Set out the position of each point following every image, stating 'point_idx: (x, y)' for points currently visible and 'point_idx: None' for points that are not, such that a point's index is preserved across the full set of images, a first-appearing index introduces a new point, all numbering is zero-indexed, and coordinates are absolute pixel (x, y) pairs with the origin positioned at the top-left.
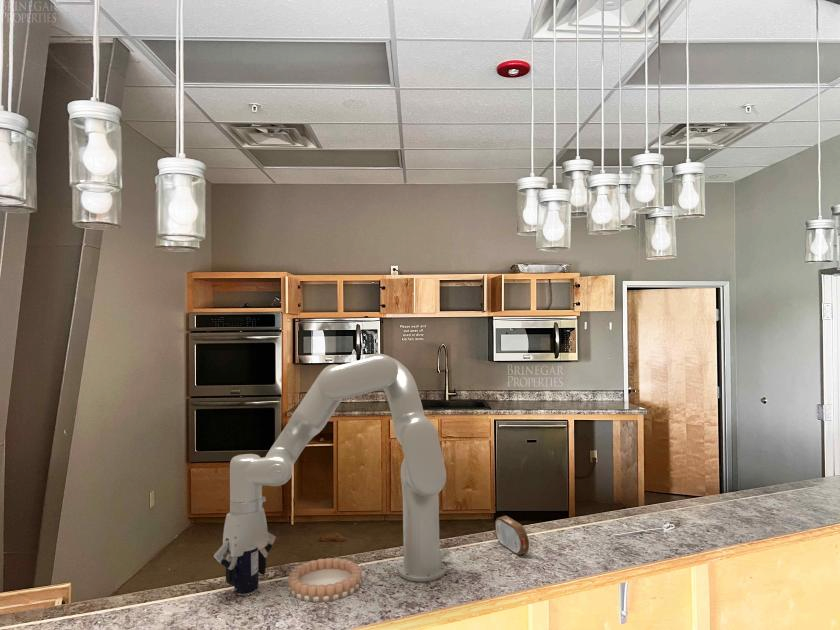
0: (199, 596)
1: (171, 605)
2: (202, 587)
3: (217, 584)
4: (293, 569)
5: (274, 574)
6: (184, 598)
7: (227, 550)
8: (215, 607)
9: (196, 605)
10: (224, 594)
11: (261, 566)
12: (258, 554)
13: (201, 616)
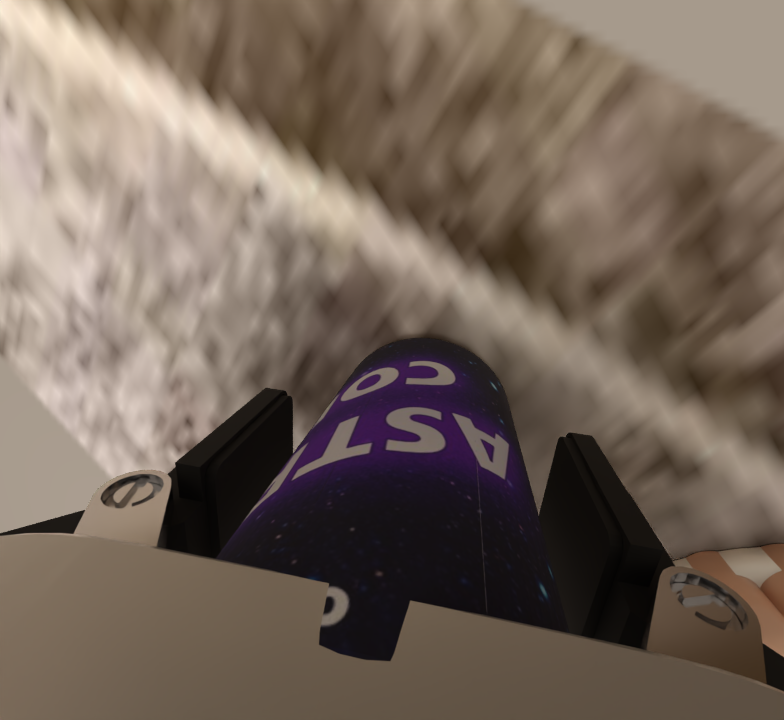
0: (190, 183)
1: (18, 144)
2: (267, 34)
3: (375, 94)
4: (775, 637)
5: (774, 356)
6: (105, 115)
7: (24, 557)
8: (204, 406)
9: (136, 290)
10: (317, 310)
11: (556, 565)
12: (625, 618)
13: (119, 423)
